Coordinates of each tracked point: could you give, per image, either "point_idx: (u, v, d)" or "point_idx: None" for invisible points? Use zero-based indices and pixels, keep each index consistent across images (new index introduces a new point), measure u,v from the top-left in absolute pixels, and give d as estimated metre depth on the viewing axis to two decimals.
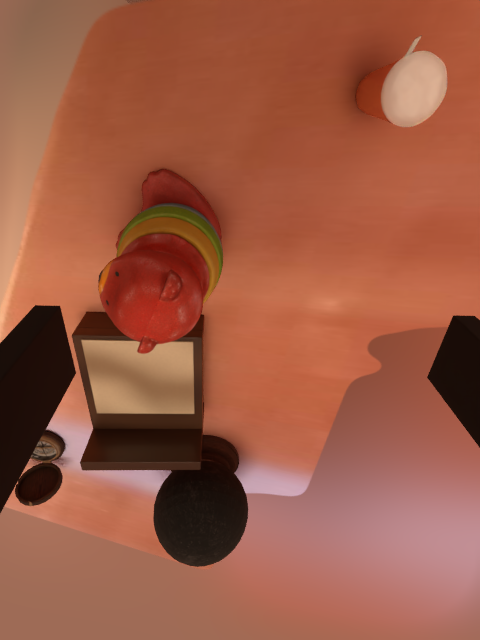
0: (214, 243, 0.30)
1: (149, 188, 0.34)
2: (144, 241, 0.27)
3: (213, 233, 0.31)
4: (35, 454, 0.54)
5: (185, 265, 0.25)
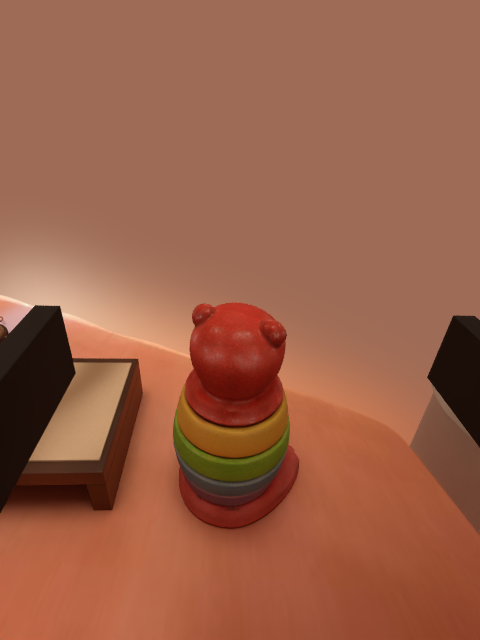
0: (264, 455, 0.25)
1: None
2: None
3: (270, 463, 0.26)
4: None
5: (276, 369, 0.23)
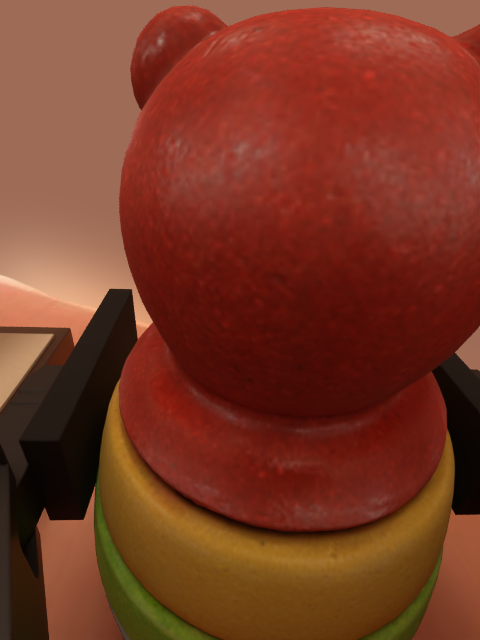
0: (400, 626, 0.07)
1: None
2: None
3: None
4: None
5: None
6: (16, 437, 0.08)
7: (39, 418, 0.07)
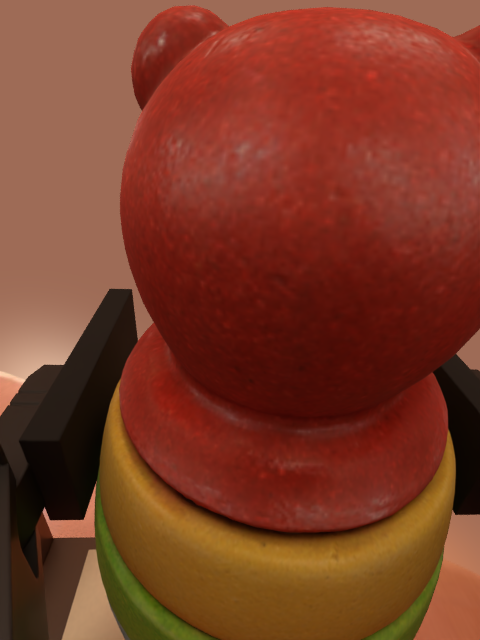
0: (401, 628, 0.07)
1: None
2: None
3: None
4: None
5: None
6: (16, 437, 0.08)
7: (39, 418, 0.07)
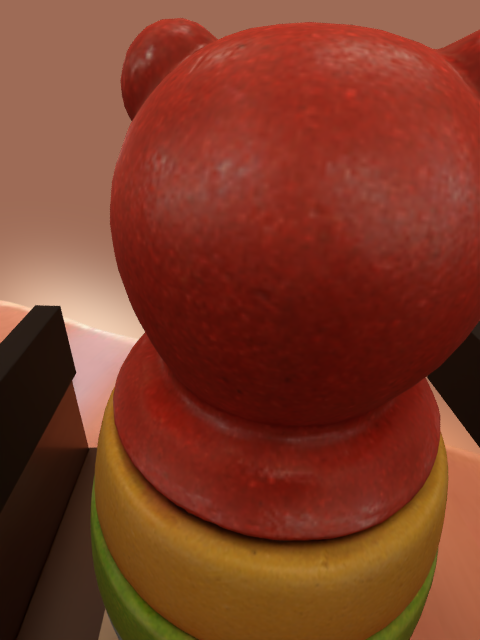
0: (393, 632, 0.07)
1: None
2: None
3: None
4: None
5: None
6: None
7: None
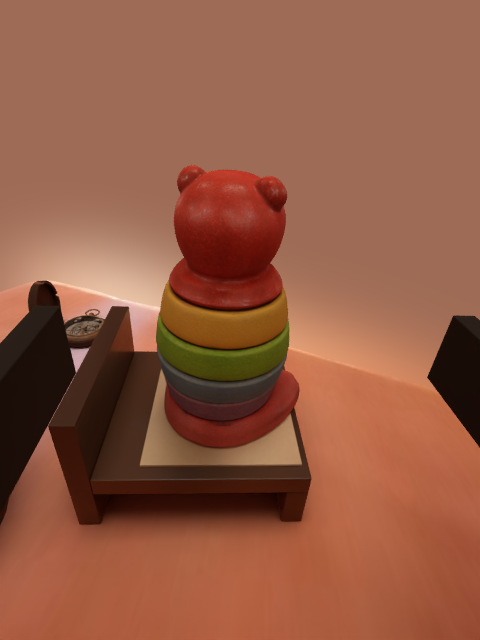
0: (259, 350, 0.22)
1: None
2: None
3: (266, 363, 0.22)
4: (73, 323, 0.46)
5: (275, 240, 0.20)
6: None
7: None
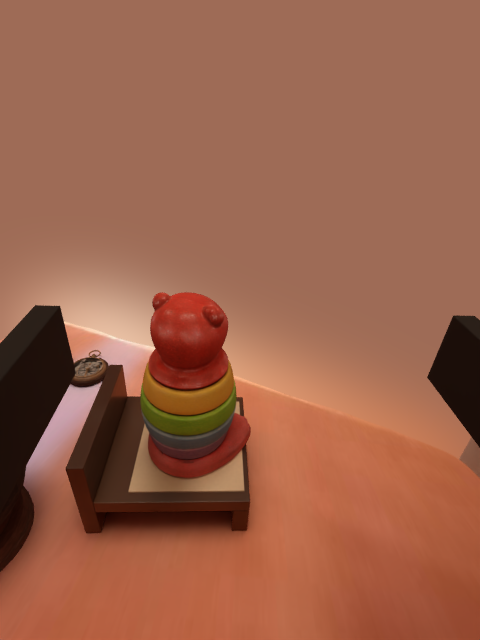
0: (209, 414, 0.31)
1: (236, 414, 0.40)
2: (223, 350, 0.34)
3: (215, 422, 0.32)
4: (79, 364, 0.56)
5: (217, 345, 0.30)
6: None
7: None
